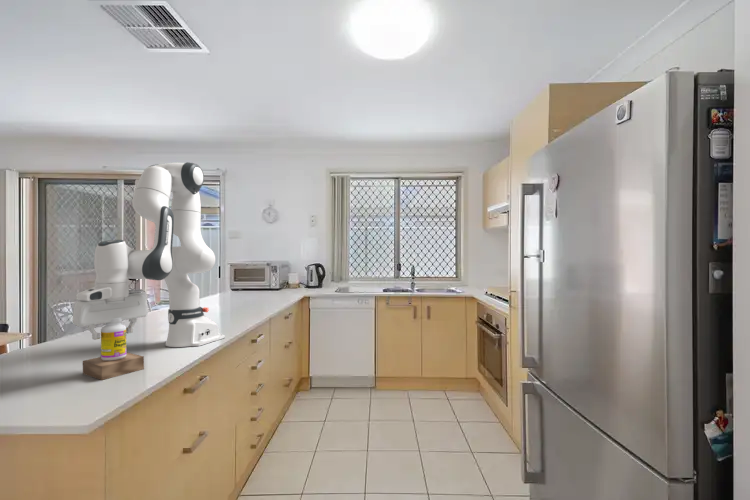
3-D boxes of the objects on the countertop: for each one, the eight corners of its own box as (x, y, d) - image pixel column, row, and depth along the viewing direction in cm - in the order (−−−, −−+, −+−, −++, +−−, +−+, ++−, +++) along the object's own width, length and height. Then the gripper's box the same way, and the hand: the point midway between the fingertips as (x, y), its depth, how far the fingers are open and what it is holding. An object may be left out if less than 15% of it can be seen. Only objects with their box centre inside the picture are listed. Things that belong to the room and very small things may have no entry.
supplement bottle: (114, 362, 120) (113, 319, 119) (95, 361, 121) (94, 319, 121) (131, 355, 126) (131, 315, 126) (114, 355, 127) (113, 315, 127)
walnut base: (124, 363, 132) (124, 351, 132) (143, 369, 125) (143, 356, 125) (82, 373, 121) (82, 360, 121) (101, 380, 115) (101, 366, 115)
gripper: (141, 288, 134) (141, 328, 134) (69, 294, 116) (70, 341, 116) (151, 288, 130) (152, 330, 131) (79, 296, 113) (80, 344, 113)
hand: (113, 335), depth 123 cm, fingers open, 8 cm apart
